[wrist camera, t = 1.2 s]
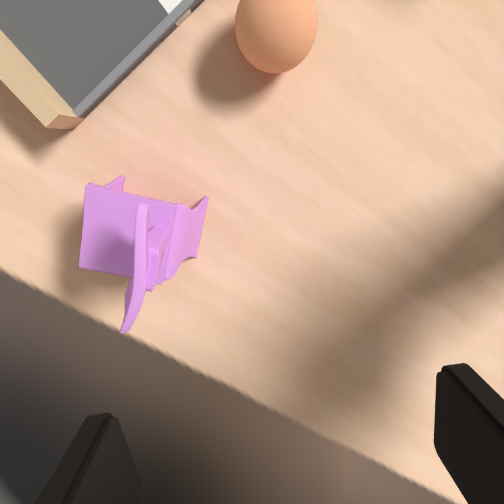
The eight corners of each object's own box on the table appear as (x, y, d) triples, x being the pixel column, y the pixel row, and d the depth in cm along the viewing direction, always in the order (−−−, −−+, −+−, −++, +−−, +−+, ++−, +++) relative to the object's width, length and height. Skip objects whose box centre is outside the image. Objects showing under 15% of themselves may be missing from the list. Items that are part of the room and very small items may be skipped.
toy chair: (116, 162, 29) (-7, 180, 15) (211, 186, 30) (179, 224, 16) (107, 247, 32) (-7, 330, 18) (194, 266, 33) (154, 361, 18)
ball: (279, -24, 25) (289, -74, 19) (323, 46, 26) (344, 19, 21) (221, 32, 26) (213, 1, 20) (266, 96, 28) (271, 83, 22)
